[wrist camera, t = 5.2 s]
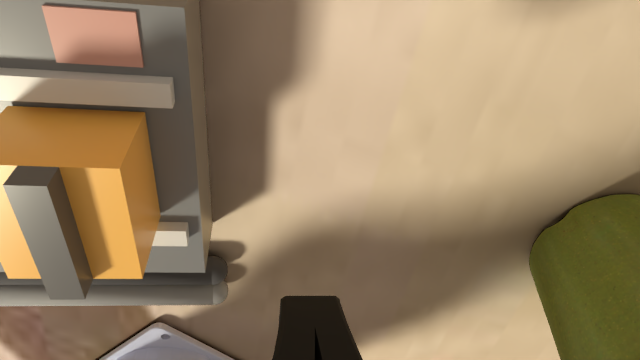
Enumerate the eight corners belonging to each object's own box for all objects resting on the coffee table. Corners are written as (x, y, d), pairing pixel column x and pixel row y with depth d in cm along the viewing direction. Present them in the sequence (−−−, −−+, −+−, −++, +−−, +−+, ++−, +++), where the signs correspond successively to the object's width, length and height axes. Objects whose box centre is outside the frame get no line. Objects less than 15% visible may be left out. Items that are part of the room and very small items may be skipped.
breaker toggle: (145, 111, 14) (111, 188, 11) (160, 215, 17) (136, 299, 14) (7, 105, 14) (-66, 183, 11) (46, 213, 16) (-4, 299, 13)
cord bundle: (228, 250, 23) (226, 271, 22) (229, 288, 25) (227, 310, 23) (-138, 246, 21) (-161, 270, 20) (-108, 289, 22) (-127, 313, 21)
